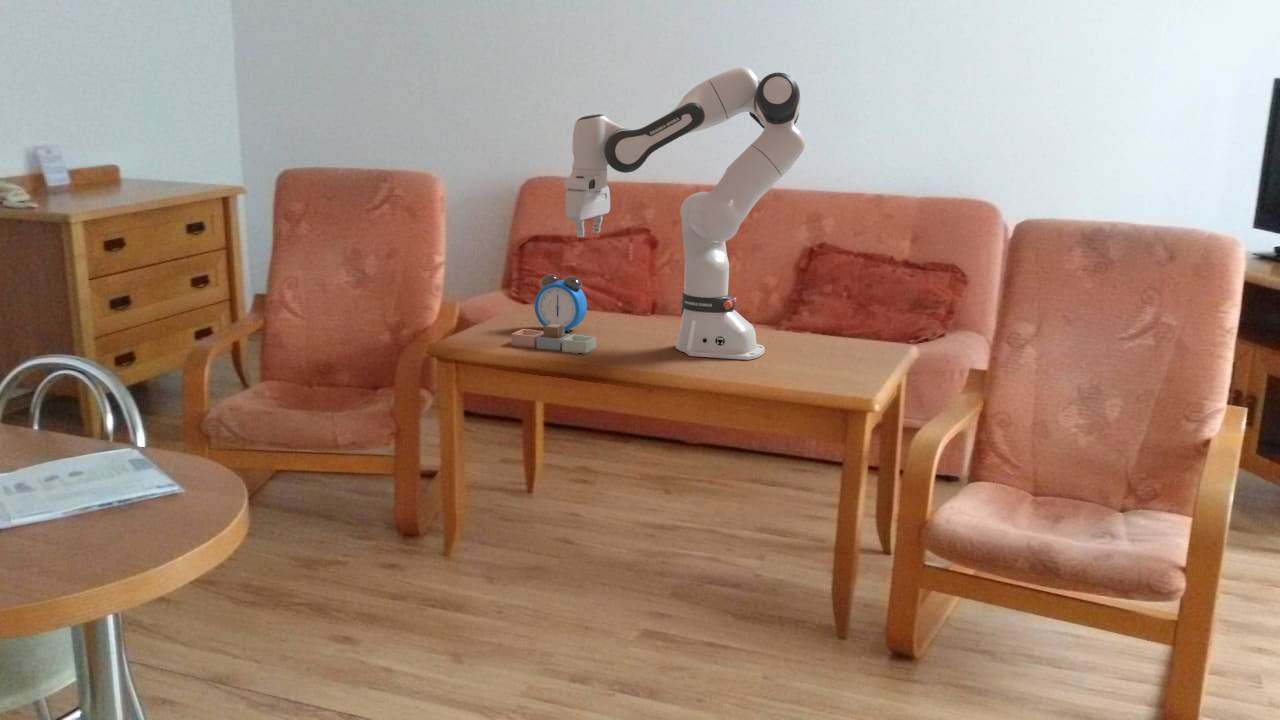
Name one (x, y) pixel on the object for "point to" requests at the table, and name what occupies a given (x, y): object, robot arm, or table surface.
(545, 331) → the brown block
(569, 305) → the alarm clock
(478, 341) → the table surface
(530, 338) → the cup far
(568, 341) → the pale green square tray
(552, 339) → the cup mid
